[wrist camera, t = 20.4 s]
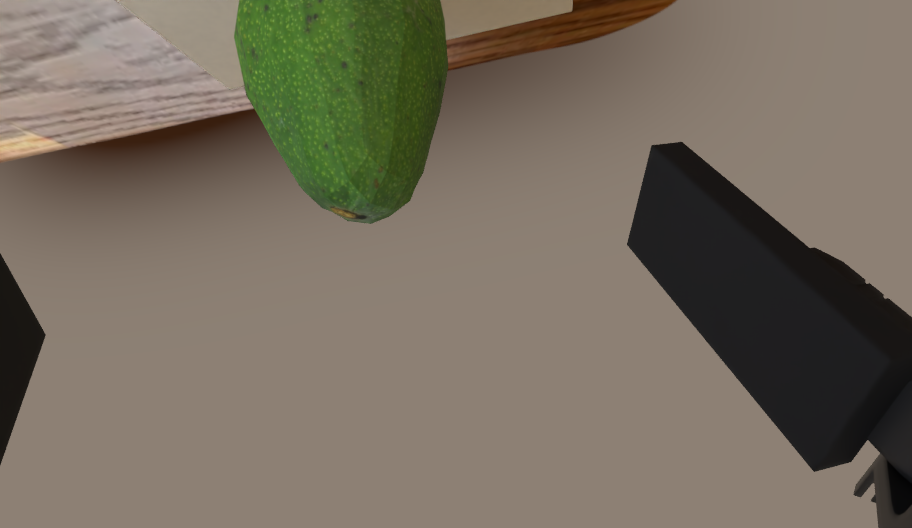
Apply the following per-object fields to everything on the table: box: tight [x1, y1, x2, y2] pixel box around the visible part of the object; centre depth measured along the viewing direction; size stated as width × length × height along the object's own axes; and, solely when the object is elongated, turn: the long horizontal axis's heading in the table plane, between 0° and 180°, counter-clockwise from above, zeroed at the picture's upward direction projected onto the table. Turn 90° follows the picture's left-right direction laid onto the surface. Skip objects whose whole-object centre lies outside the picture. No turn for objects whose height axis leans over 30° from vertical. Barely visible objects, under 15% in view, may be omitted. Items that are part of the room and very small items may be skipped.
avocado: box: [234, 0, 448, 224], centre depth 23 cm, size 8×8×12 cm
